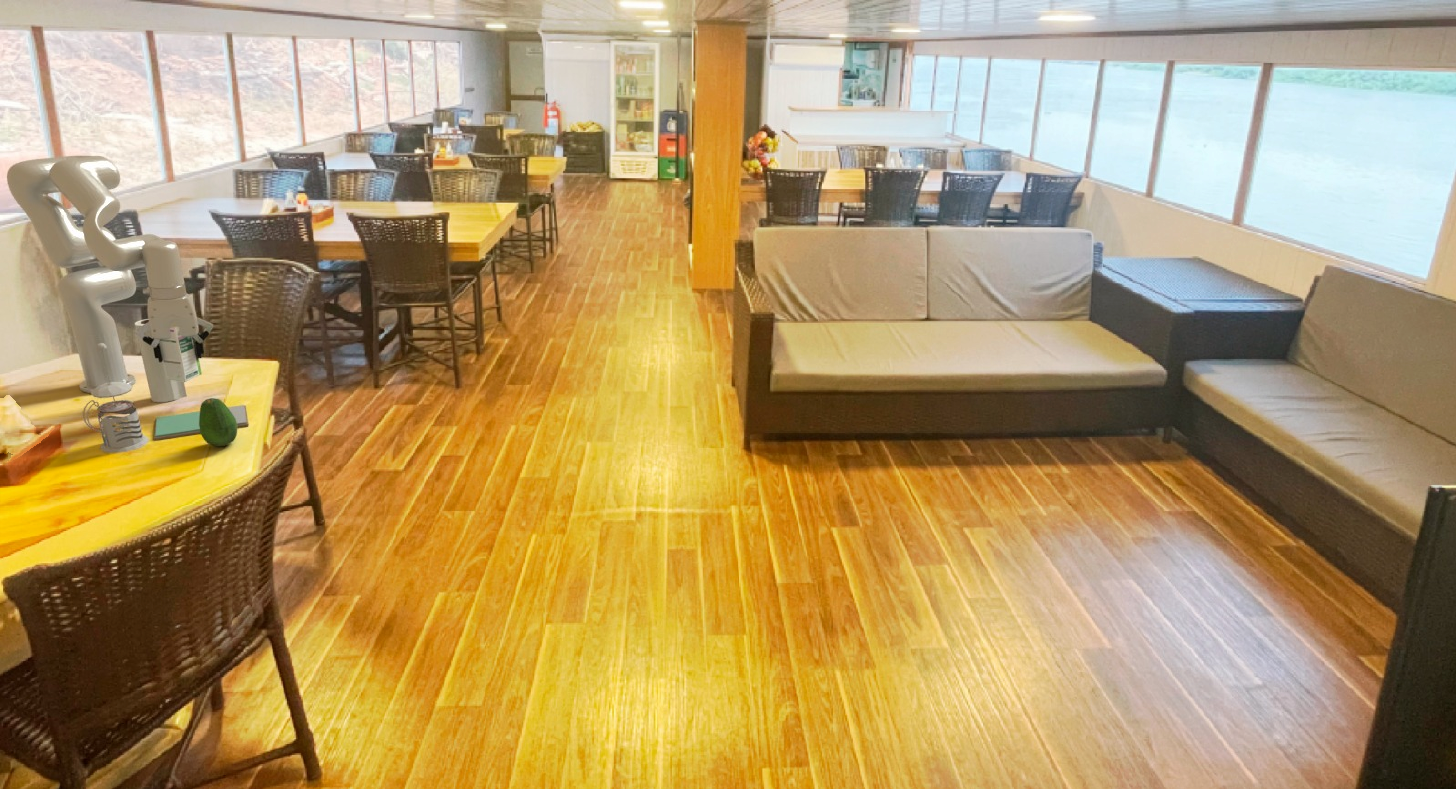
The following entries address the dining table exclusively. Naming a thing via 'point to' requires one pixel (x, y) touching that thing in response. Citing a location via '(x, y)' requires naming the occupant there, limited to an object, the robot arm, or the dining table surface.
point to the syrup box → (179, 356)
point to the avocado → (217, 423)
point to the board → (191, 423)
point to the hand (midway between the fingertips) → (180, 358)
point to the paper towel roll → (158, 373)
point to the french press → (113, 438)
